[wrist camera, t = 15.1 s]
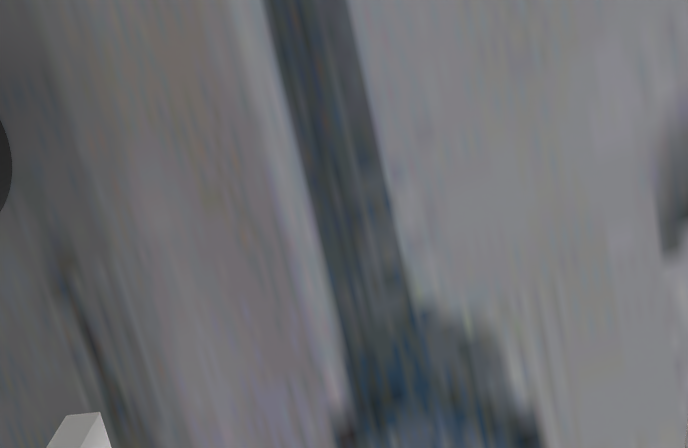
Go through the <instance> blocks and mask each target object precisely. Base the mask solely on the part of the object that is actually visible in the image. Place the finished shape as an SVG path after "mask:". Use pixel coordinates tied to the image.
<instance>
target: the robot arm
mask: <svg viewBox="0 0 688 448" xmlns="http://www.w3.org/2000/svg"><path fill="white" fill-rule="evenodd" d="M11 177H12V159H11V152H10V147H9V143H8V139H7V136H6V133H5V130H4V128H3V126H2V123H1V121H0V211H1V209H2V208H3V206H4V204H5V201H6V199H7V196H8V193H9V189H10V185H11ZM46 448H111V445H110V442H109V439H108V436H107V433H106V430H105V427H104V423H103V420H102V417H101V414H100V412H95V413H85V414H76V415H66V417H65V419H64V420H63V422H62V423H61V425H60V427H59V428H58V430H57V431H56V433H55V435H54V436H53V438H52V439H51V441H50V443H49V444H48V446H47V447H46ZM685 448H688V421H687V430H686V440H685Z"/></svg>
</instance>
